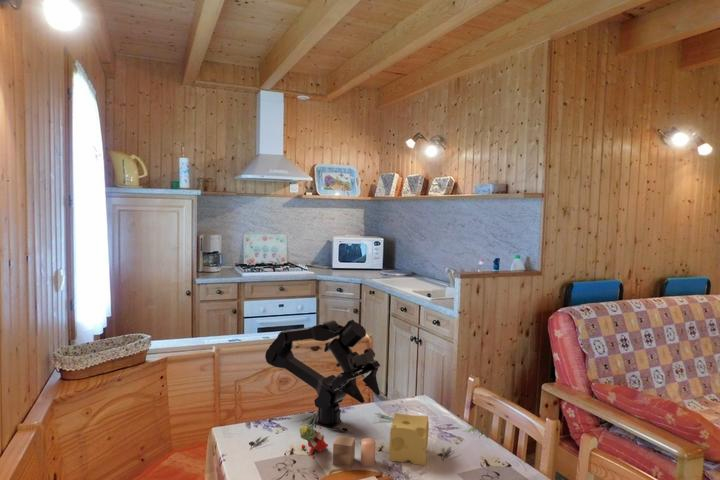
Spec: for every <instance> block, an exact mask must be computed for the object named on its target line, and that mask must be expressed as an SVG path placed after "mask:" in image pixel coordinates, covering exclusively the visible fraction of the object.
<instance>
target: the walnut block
mask: <svg viewBox="0 0 720 480" xmlns="http://www.w3.org/2000/svg"><path fill="white" fill-rule="evenodd" d="M332 444H333V445H332V450H333V451H332V465H333V466H338V467H344V468H351V467H352V465H353V463H354V461H355V457H356V455H355V453H356V437H351V436H345V435H337V436H336V438H335V440H334V442H333V443H332Z"/></svg>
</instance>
